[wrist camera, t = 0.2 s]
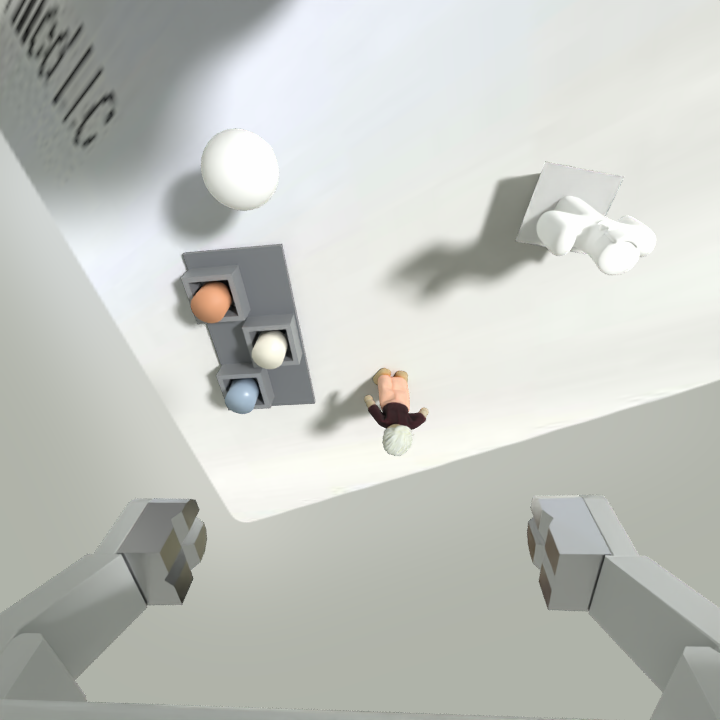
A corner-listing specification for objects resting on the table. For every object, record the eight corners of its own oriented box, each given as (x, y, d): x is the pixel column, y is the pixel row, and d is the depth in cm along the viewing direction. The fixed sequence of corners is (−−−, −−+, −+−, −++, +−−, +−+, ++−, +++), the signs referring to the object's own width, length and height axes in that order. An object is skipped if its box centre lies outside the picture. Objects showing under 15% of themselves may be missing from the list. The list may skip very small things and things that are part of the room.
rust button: (196, 282, 48) (186, 294, 46) (227, 279, 48) (219, 291, 45) (206, 311, 50) (196, 324, 48) (236, 308, 50) (229, 322, 47)
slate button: (228, 376, 56) (221, 391, 53) (256, 375, 55) (250, 390, 53) (236, 399, 58) (229, 414, 55) (262, 397, 57) (257, 413, 55)
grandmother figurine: (365, 389, 58) (361, 462, 48) (365, 365, 56) (361, 436, 46) (423, 391, 58) (432, 465, 48) (426, 368, 56) (436, 439, 45)
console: (184, 252, 48) (173, 263, 46) (282, 243, 47) (276, 254, 45) (236, 405, 61) (230, 420, 58) (315, 401, 60) (312, 416, 57)
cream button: (254, 329, 51) (248, 343, 49) (284, 327, 51) (279, 341, 49) (261, 355, 53) (255, 370, 51) (290, 353, 53) (286, 368, 51)
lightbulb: (266, 102, 40) (231, 116, 31) (307, 162, 43) (286, 191, 34) (217, 143, 42) (172, 167, 33) (259, 198, 45) (228, 234, 36)
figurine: (583, 243, 46) (657, 312, 34) (496, 227, 45) (537, 291, 33) (618, 170, 42) (716, 218, 29) (522, 151, 41) (581, 192, 29)
